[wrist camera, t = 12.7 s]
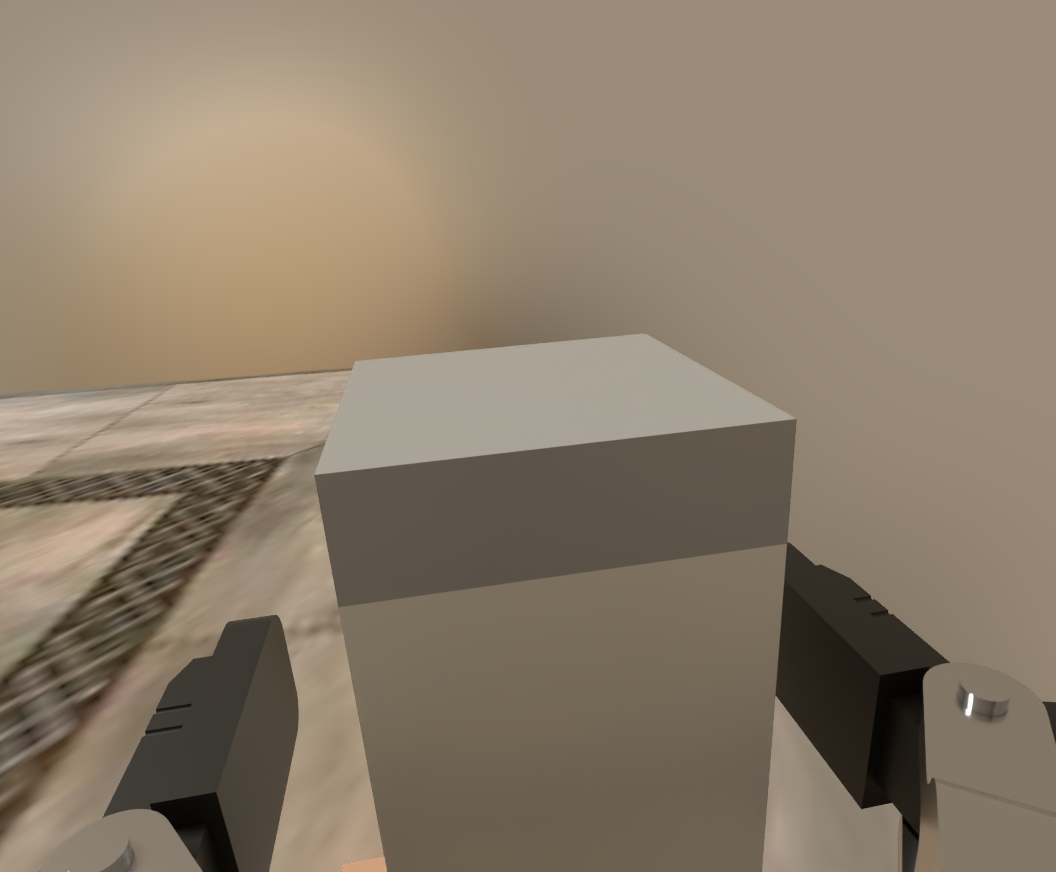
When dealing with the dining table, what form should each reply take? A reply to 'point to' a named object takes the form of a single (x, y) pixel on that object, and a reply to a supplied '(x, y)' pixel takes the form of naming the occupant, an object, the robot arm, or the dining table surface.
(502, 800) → the block
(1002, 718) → the robot arm
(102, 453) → the dining table surface
